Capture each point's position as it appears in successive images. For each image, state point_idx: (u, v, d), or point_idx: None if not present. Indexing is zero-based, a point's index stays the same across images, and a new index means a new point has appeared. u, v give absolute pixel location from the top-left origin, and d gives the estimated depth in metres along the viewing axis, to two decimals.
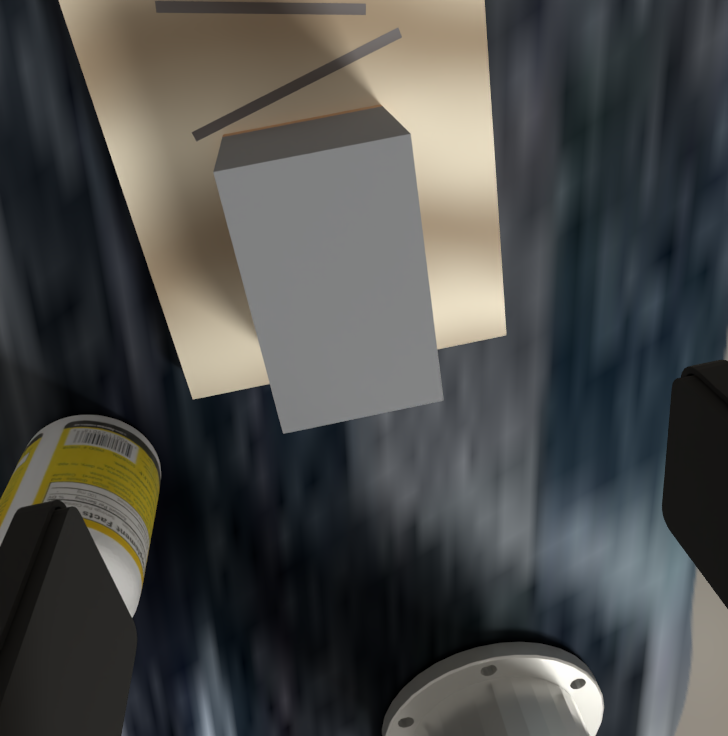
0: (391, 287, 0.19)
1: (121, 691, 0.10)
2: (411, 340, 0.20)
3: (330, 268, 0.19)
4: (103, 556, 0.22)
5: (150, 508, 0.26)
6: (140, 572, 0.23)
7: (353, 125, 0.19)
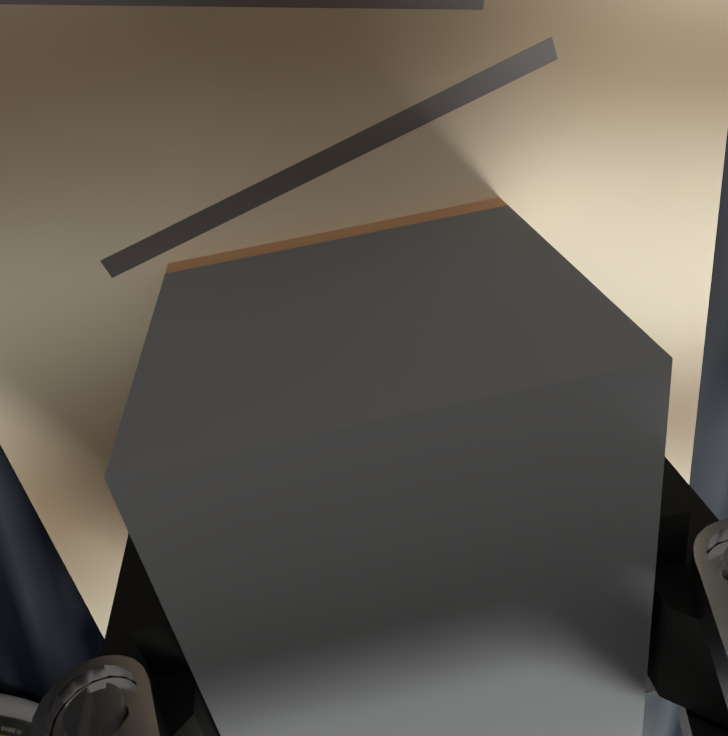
0: (561, 671, 0.08)
1: None
2: None
3: (421, 648, 0.08)
4: None
5: None
6: None
7: (468, 278, 0.08)
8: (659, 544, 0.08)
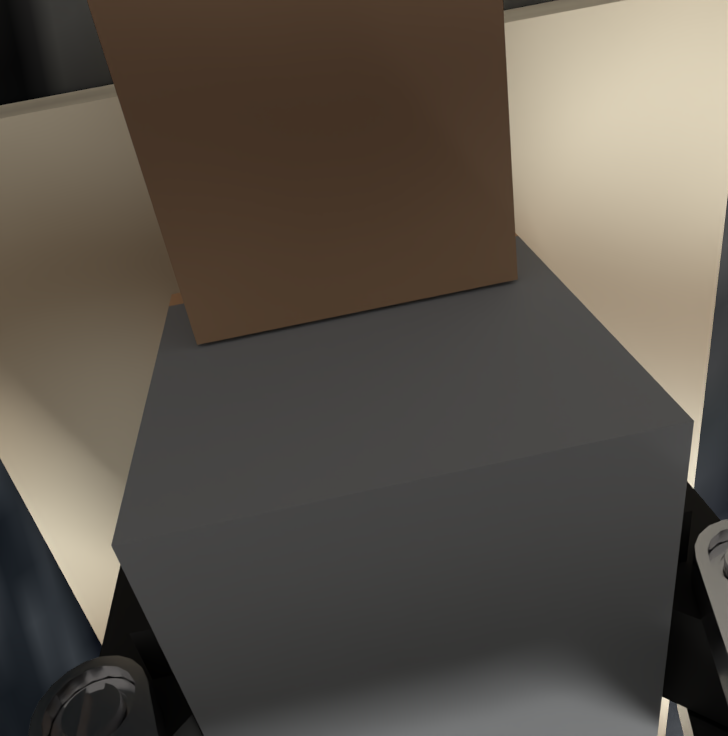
0: (573, 718, 0.08)
1: None
2: None
3: (432, 700, 0.07)
4: None
5: None
6: None
7: (480, 320, 0.08)
8: None
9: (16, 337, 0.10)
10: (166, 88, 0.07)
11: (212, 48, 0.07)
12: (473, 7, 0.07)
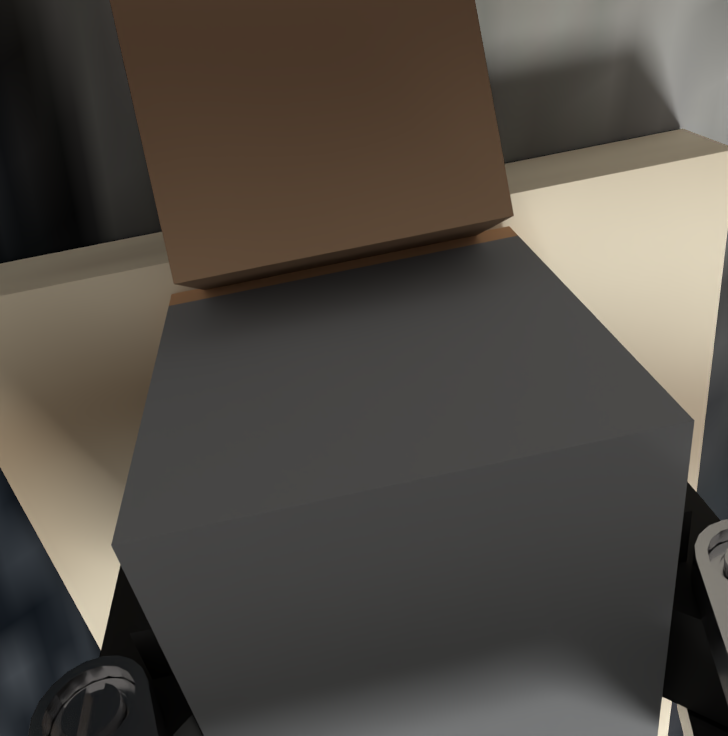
0: (573, 718, 0.08)
1: None
2: None
3: (432, 700, 0.07)
4: None
5: None
6: None
7: (480, 320, 0.08)
8: None
9: (70, 460, 0.11)
10: (159, 21, 0.08)
11: None
12: None
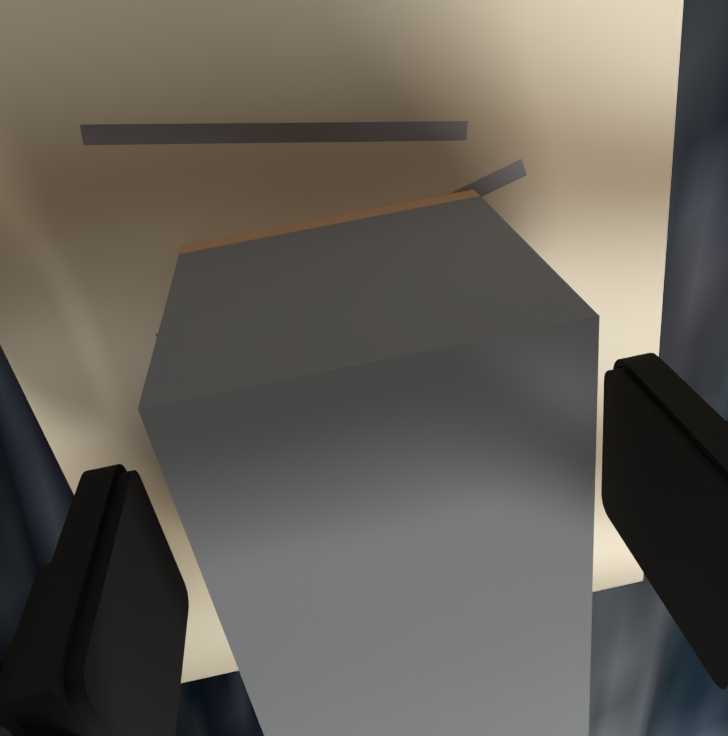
0: (518, 590, 0.09)
1: (179, 647, 0.11)
2: (543, 664, 0.10)
3: (397, 567, 0.09)
4: None
5: None
6: None
7: (441, 256, 0.09)
8: None
9: None
10: None
11: None
12: None
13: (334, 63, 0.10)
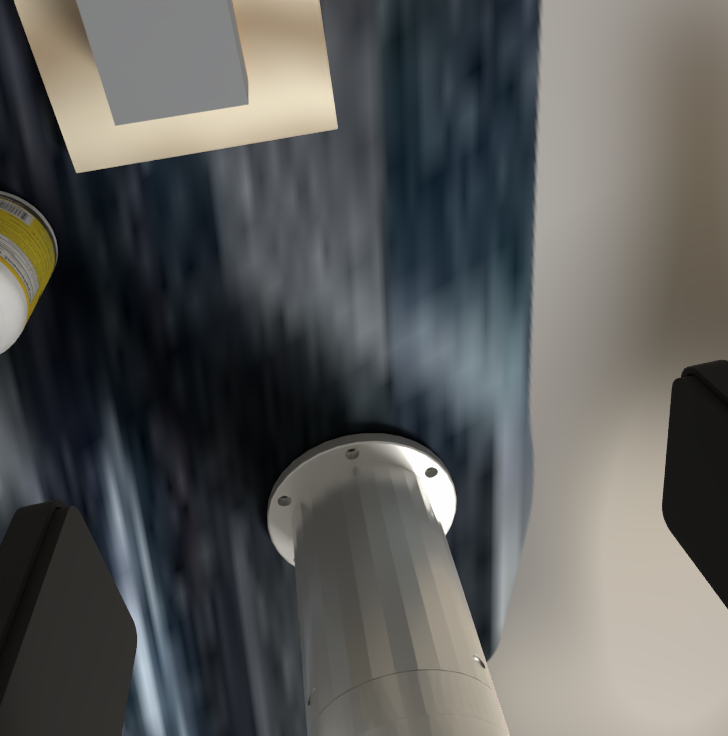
0: None
1: (121, 691, 0.10)
2: (215, 41, 0.25)
3: None
4: None
5: (41, 261, 0.31)
6: (25, 295, 0.29)
7: None
8: None
9: None
10: None
11: None
12: None
13: None
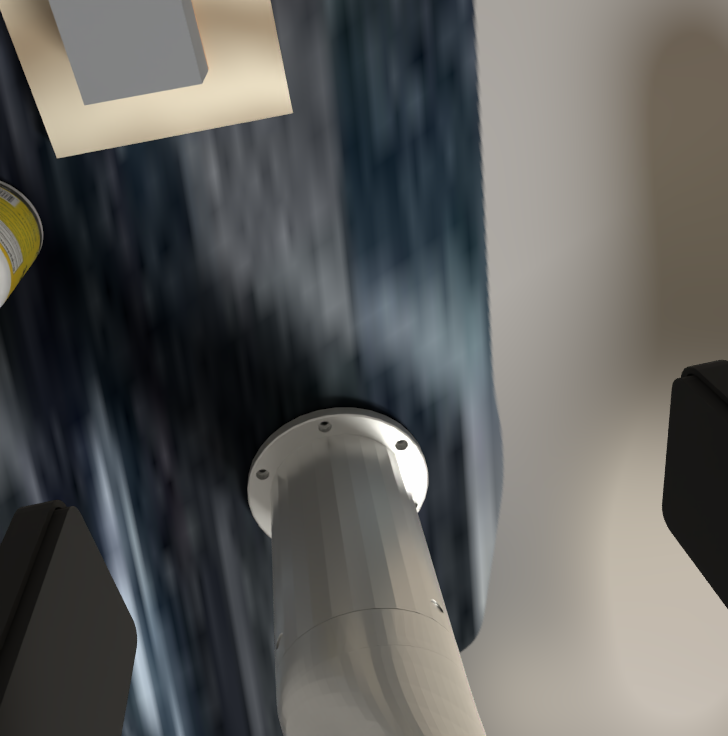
0: None
1: (121, 691, 0.10)
2: (169, 27, 0.28)
3: None
4: None
5: (25, 238, 0.35)
6: (9, 264, 0.32)
7: None
8: None
9: None
10: None
11: None
12: None
13: None
